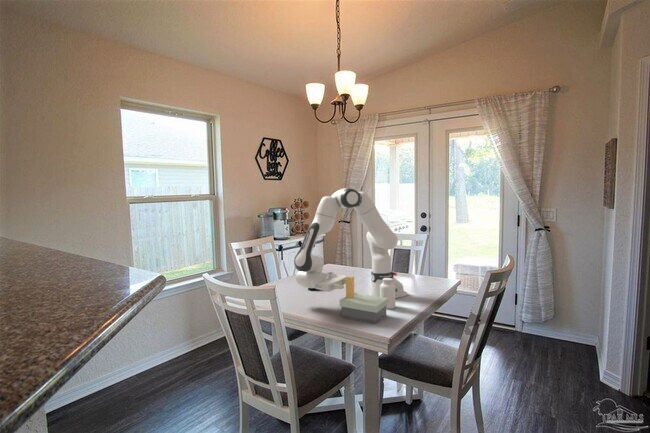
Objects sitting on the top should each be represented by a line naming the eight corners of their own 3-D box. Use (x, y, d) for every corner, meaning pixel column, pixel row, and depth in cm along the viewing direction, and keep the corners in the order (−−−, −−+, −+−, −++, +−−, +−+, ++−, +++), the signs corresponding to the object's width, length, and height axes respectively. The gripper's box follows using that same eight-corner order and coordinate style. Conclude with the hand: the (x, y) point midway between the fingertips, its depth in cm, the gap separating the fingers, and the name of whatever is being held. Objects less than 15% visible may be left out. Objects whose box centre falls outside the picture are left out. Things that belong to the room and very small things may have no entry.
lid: (388, 304, 174) (388, 278, 173) (376, 312, 162) (376, 284, 161) (352, 298, 184) (352, 273, 183) (339, 306, 172) (339, 279, 171)
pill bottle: (393, 304, 191) (393, 276, 190) (396, 309, 183) (397, 280, 182) (378, 304, 191) (378, 277, 190) (381, 309, 183) (381, 280, 182)
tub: (386, 315, 175) (386, 301, 174) (375, 323, 163) (375, 308, 163) (353, 309, 184) (353, 296, 183) (341, 317, 173) (341, 302, 172)
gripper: (312, 280, 175) (337, 283, 168) (333, 271, 193) (356, 274, 186) (312, 292, 176) (337, 296, 169) (333, 283, 193) (356, 286, 186)
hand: (347, 284), depth 177 cm, fingers open, 8 cm apart
